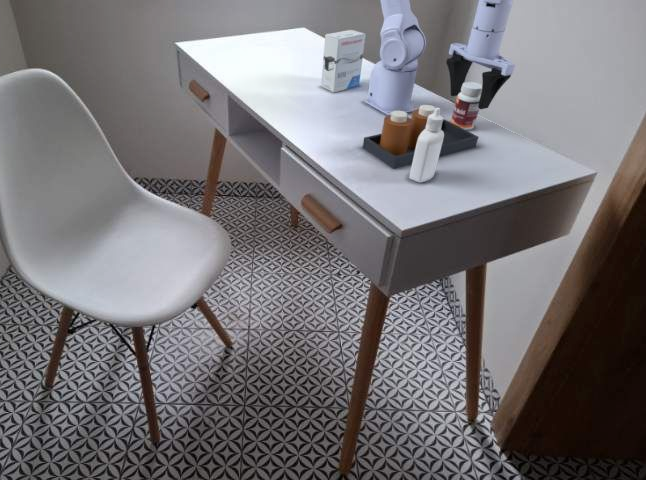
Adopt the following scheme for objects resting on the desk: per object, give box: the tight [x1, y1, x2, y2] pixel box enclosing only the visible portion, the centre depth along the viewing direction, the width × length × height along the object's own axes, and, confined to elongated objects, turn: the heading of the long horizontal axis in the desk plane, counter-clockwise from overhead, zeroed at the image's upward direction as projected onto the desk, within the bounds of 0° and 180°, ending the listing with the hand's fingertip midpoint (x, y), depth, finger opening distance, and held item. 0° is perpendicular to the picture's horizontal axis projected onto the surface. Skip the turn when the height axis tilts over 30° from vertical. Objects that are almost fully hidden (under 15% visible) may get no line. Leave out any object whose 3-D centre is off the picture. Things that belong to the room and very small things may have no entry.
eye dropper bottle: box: [408, 107, 444, 184], centre depth 85 cm, size 4×6×12 cm
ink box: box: [320, 29, 366, 93], centre depth 119 cm, size 8×5×12 cm, turn 128°
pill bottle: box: [450, 81, 482, 131], centre depth 104 cm, size 5×5×8 cm
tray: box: [362, 118, 479, 169], centre depth 97 cm, size 9×20×2 cm, turn 119°
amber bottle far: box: [380, 111, 413, 156], centre depth 93 cm, size 5×5×7 cm
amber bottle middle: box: [408, 104, 436, 149], centre depth 95 cm, size 5×5×7 cm
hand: (468, 101), depth 103 cm, fingers open, 7 cm apart
